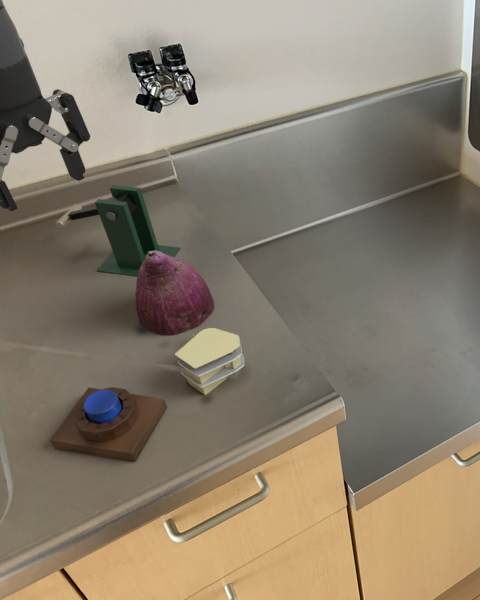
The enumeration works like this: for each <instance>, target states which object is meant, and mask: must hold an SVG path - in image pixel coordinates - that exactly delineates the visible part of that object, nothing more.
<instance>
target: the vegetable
mask: <svg viewBox="0 0 480 600" xmlns="http://www.w3.org/2000/svg"><path fill="white" fill-rule="evenodd" d="M134 294H135V295H134V296H135V301H134V302H135V309H136V314H137V319H138V323H139V325H140V326H141V327H143V328H144V329H146V330H147V331H149V332H152V333H154V334H157V335H160V336H176V335H177V336H178V335H180V334H183V333H186V332H187V331H189V330H193V329H196V328H198V327H200V326H202V324H203V323H204V322H206V320H207V319H209V317H210V316H211V315H212V314H213V313H214V310H215V302H214V297H213V295H212V293H211V290H210V288H209V286H208V283H207V282H206V281H205V279H204V278H203V277H202V275H201V274H200V273H199V272H198V271H197V270H196V269H195V268H194V267H193V266H191V265H190V264H189V263H187V262H186V261H184V260H181V259H180V258H177V257H176V256H175V257H171V256H168V255H166V254H164V253H162V252H160V251H156V250H155V251H148V254H147V255H146V257H145V260H144V262H143V263H142V265H141V267H140V269H139V272H138V276H137V277H136V282H135V293H134Z"/></svg>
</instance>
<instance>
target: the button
mask: <svg viewBox="0 0 480 600" xmlns="http://www.w3.org/2000/svg"><path fill="white" fill-rule="evenodd" d="M84 409H85V411H86V413H87V415H88V417H89V419H90V420H91V421H92V422H94V423H106V422H109V421H111V420H112V419H114V418H115V417H117V416H118V415H119V413H120V411H121V403H120V401H119V399H118V396H117V394H116V393H115V392H114V391H111V390H100V391H97V392H95V393H93V394H91V395H90V396H89V397H88V398H87V399H86V401H85V403H84Z"/></svg>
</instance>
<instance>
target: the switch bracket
mask: <svg viewBox="0 0 480 600" xmlns="http://www.w3.org/2000/svg"><path fill="white" fill-rule="evenodd" d="M109 191H110V193H111V196H112V197H113V196H118V195H122V194H127V193H128V194H129V195H130V197H131V198H132V200H133V201H134V203H135V204H136V206H137V207H136V208H135V210H134V211H133V212H132V213H131V214H130V211H129V208H128V204H127V202H122V201H112V200H110V199H102V198H98V199H96V200H95V202H94V204H95V206H96V207H97V210H98V212H99V215H98V216H99V217H100V220H101V223H102V226H103V229H104V232H105V234H106V236H107V239H108V242H109V245H110V247H111V250H112V252H111V254H110V255H109V256H108V257H107V258H106V259H105V260H104V261H103V263H102V264H101V265H100V266H99V267H98V268H97V270H96V272H97V273H104V274H112V275H118V276H119V275H120V276H129V277H136V278H137V276H138V272H139V269H140V267H141V265H142V263H143V262H144V260H145V257H146V255H147V254H148V251H155V250H156V251H160V252H162V253H164V254H166V255H168V256H171V257H175V258H176V256H177V255H178V253H179V252H180V250H181V249H182V247H177V246H171V245H161V244H159V243H158V239H157V237H156V234H155V231H154V227H153V224H152V220H151V217H150V214H149V211H148V208H147V205H146V201H145V198H144V194H143V192H142V188H141V187H138V186H137V187H136V186H129V185H120V184H119V185H118V184H112V185H111V186H110V187H109ZM112 197H111V198H112Z"/></svg>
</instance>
